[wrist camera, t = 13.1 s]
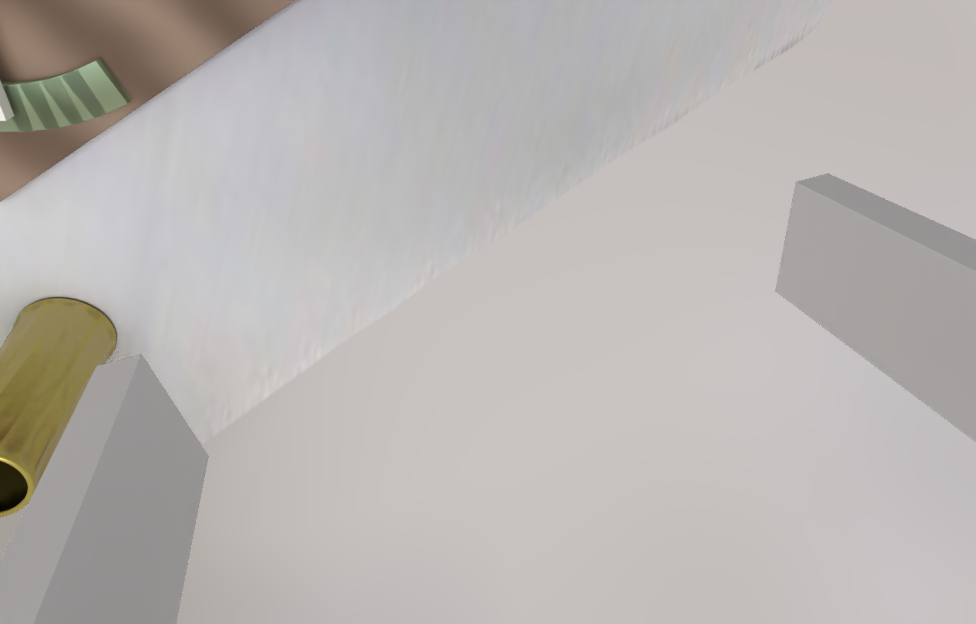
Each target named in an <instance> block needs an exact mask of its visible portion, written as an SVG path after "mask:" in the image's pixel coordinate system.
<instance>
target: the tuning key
mask: <svg viewBox="0 0 976 624" xmlns="http://www.w3.org/2000/svg"><path fill="white" fill-rule="evenodd" d="M13 116H14V114H13V111H12V108H11V106H10V103H9V101H8V98H7V96H6V93H5V91H4V88H3V86H2V83H1V80H0V121H7V120H8V119H10V118H12V117H13Z"/></svg>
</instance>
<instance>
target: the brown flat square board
mask: <svg viewBox="0 0 976 624" xmlns="http://www.w3.org/2000/svg"><path fill="white" fill-rule="evenodd" d="M293 1H295V0H0V80H1V83H2V86H3V88H4V91H5V93H6V96H7V98H8V101H9V103H10V106H11V108H12V111H13V114H14V116H13V117H12V118H10V119H8V120H7V121H0V202H1V201H2V200H4V199H5V198H6V197H8V196H9V195H11V194H12V193H14V192H15V191H17V190H18V189H20V188H21V187H23V186H24V185H25V184H27V183H28V182H30V181H31V180H33V179H34V178H36V177H37V176H39V175H40V174H42V173H43V172H44V171H46V170H47V169H49V168H50V167H52V166H53V165H55V164H56V163H58V162H59V161H61V160H62V159H64V158H65V157H66V156H68V155H69V154H71V153H72V152H74V151H75V150H77V149H78V148H80V147H81V146H83V145H84V144H85V143H87V142H88V141H90V140H91V139H93V138H94V137H96V136H97V135H99V134H100V133H102V132H103V131H104V130H106V129H107V128H109V127H110V126H112V125H113V124H115V123H116V122H118V121H119V120H121V119H122V118H123V117H125V116H126V115H128V114H129V113H131V112H132V111H134V110H135V109H137V108H138V107H140V106H141V105H143V104H144V103H145V102H147V101H148V100H150V99H151V98H153V97H154V96H156V95H157V94H159V93H160V92H162V91H163V90H164V89H166V88H167V87H169V86H170V85H172V84H173V83H175V82H176V81H178V80H179V79H181V78H182V77H183V76H185V75H186V74H188V73H189V72H191V71H192V70H194V69H195V68H197V67H198V66H200V65H201V64H203V63H204V62H205V61H207V60H208V59H210V58H211V57H213V56H214V55H216V54H217V53H219V52H220V51H222V50H223V49H224V48H226V47H227V46H229V45H230V44H232V43H233V42H235V41H236V40H238V39H239V38H241V37H242V36H243V35H245V34H246V33H248V32H249V31H251V30H252V29H254V28H255V27H257V26H258V25H260V24H261V23H262V22H264V21H265V20H267V19H268V18H270V17H271V16H273V15H274V14H276V13H277V12H279V11H280V10H282V9H283V8H284V7H286V6H287V5H289V4H290V3H292V2H293Z"/></svg>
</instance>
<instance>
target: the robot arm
mask: <svg viewBox="0 0 976 624" xmlns="http://www.w3.org/2000/svg"><path fill="white" fill-rule="evenodd" d="M775 291H776V292H777V293H778V294H780V295H781V296H782V297H784V298H785V299H786V300H788V301H789V302H790V303H792V304H793V305H794V306H796V307H797V308H798V309H800V310H801V311H802V312H804V313H805V314H806V315H808V316H809V317H810V318H812V319H813V320H814V321H816V322H817V323H818V324H819V325H821V326H822V327H823V328H825V329H826V330H827V331H829V332H830V333H831V334H833V335H834V336H836V337H837V338H838V339H840V340H841V341H842V342H844V343H845V344H846V345H848V346H849V347H850V348H852V349H853V350H854V351H855V352H857V353H858V354H859V355H861V356H862V357H863V358H865V359H866V360H867V361H869V362H870V363H871V364H873V365H874V366H875V367H877V368H878V369H879V370H881V371H882V372H883V373H885V374H886V375H887V376H889V377H890V378H891V379H893V380H894V381H895V382H897V383H898V384H899V385H901V386H902V387H903V388H905V389H906V390H907V391H909V392H910V393H911V394H913V395H914V396H915V397H917V398H918V399H919V400H921V401H922V402H923V403H925V404H926V405H927V406H929V407H930V408H931V409H933V410H934V411H935V412H937V413H938V414H939V415H941V416H942V417H943V418H944V419H946V420H947V421H948V422H950V423H951V424H952V425H954V426H955V427H957V428H958V429H959V430H960V431H962V432H963V433H964V434H966V435H967V436H969V437H970V438H971V439H973V440H974V441H975V442H976V240H975V239H973V238H970V237H968V236H966V235H964V234H962V233H959V232H957V231H955V230H953V229H950V228H948V227H946V226H944V225H941V224H939V223H937V222H935V221H933V220H930V219H928V218H926V217H924V216H922V215H919V214H917V213H915V212H913V211H910V210H908V209H906V208H903V207H901V206H899V205H897V204H895V203H893V202H890V201H888V200H886V199H884V198H881V197H879V196H877V195H875V194H873V193H870V192H868V191H866V190H864V189H861V188H859V187H857V186H855V185H852V184H850V183H848V182H846V181H844V180H841V179H839V178H837V177H835V176H832V175H830V174H824V175H820V176H816V177H813V178H809V179H805V180H801V181H798V182H796V183H795V189H794V194H793V199H792V204H791V210H790V215H789V220H788V226H787V231H786V236H785V242H784V248H783V253H782V258H781V263H780V269H779V274H778V279H777V285H776V290H775ZM207 461H208V454H207V453H206V451H205V450H204V448H203V447H202V445H201V444H200V442H199V441H198V439H197V438H196V436H195V435H194V433H193V432H192V430H191V428H190V427H189V425H188V424H187V422H186V421H185V419H184V418H183V416H182V415H181V413H180V412H179V410H178V409H177V407H176V406H175V404H174V403H173V401H172V400H171V398H170V396H169V395H168V393H167V392H166V390H165V389H164V387H163V386H162V384H161V383H160V381H159V380H158V378H157V377H156V375H155V374H154V372H153V371H152V369H151V367H150V366H149V364H148V363H147V361H146V360H145V358H144V357H143V355H142V354H141V355H137V356H133V357H129V358H125V359H122V360H118V361H114V362H110V363H106V364H103V365H99V366H96V368H95V370H94V372H93V374H92V376H91V378H90V380H89V382H88V384H87V386H86V388H85V390H84V392H83V394H82V396H81V398H80V400H79V402H78V404H77V406H76V408H75V410H74V412H73V414H72V416H71V418H70V420H69V422H68V425H67V427H66V429H65V431H64V433H63V435H62V437H61V439H60V441H59V443H58V445H57V447H56V449H55V451H54V453H53V455H52V457H51V459H50V461H49V463H48V465H47V467H46V469H45V471H44V473H43V475H42V477H41V479H40V481H39V483H38V485H37V487H36V489H35V491H34V493H33V495H32V497H31V499H30V501H29V503H28V505H27V507H26V509H25V511H24V513H23V515H22V517H21V519H20V521H19V523H18V525H17V527H16V529H15V531H14V533H13V535H12V537H11V539H10V541H9V543H8V545H7V547H6V550H5V551H4V554H3V555H2V557H1V559H0V624H176V621H177V616H178V612H179V606H180V601H181V596H182V591H183V585H184V580H185V575H186V570H187V565H188V560H189V555H190V550H191V544H192V539H193V534H194V529H195V524H196V518H197V513H198V508H199V502H200V498H201V493H202V487H203V482H204V477H205V471H206V466H207Z"/></svg>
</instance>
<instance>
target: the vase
mask: <svg viewBox="0 0 976 624" xmlns="http://www.w3.org/2000/svg"><path fill="white" fill-rule="evenodd" d="M115 345H116V332H115V329H114V327H113V325H112V324H111V322H110V321H109V319H108V318H107V317H106V316H105V315H104V314H103V313H101V312H100V311H98V310H97V309H95V308H93V307H92V306H89V305H87V304H85V303H82V302H79V301H76V300H71V299H63V298H53V299H45V300H41V301H38V302H35V303H33V304H31V305H29V306H27V307H26V308H24V309H23V310H22V311H21V312H20V314H19V315H18V317H17V319H16V321H15V323H14V326H13V329H12V331H11V333H10V334H9V336H8V337H7V339H6V341H5V342H4V344H3V346H2V347H1V349H0V517H4V516H7V515H10V514H12V513H15V512H17V511H19V510H20V509H22V508H23V507H24V506H26V505H27V504H28V503H29V501H30V499H31V497H32V495H33V493H34V491H35V489H36V487H37V485H38V483H39V481H40V479H41V477H42V475H43V473H44V471H45V469H46V467H47V465H48V463H49V461H50V459H51V457H52V455H53V453H54V451H55V449H56V447H57V445H58V443H59V441H60V439H61V437H62V435H63V433H64V431H65V429H66V427H67V425H68V422H69V420H70V418H71V416H72V414H73V412H74V410H75V408H76V406H77V404H78V402H79V400H80V398H81V396H82V394H83V392H84V390H85V388H86V386H87V384H88V382H89V380H90V378H91V376H92V374H93V372H94V370H95V368H96V366H99V365H103V364H105V363H106V361H107V359H108V358H109V357H110V356H111V355H112V353H113V351H114V349H115Z"/></svg>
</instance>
